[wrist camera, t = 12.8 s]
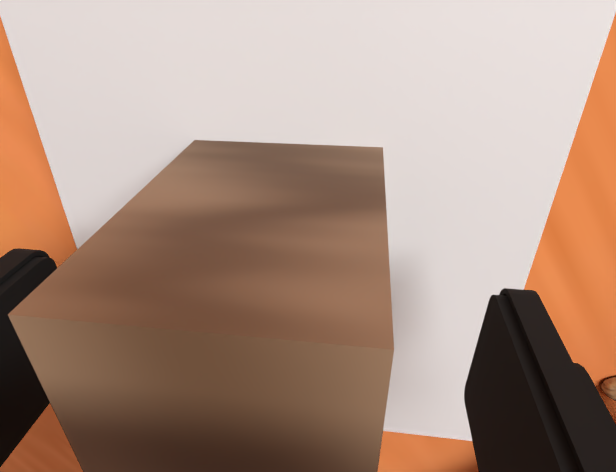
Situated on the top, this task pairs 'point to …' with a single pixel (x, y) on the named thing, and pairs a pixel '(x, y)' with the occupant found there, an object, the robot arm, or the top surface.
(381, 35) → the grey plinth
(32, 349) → the walnut block
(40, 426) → the top surface
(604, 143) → the top surface
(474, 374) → the robot arm
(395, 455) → the top surface
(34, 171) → the top surface
